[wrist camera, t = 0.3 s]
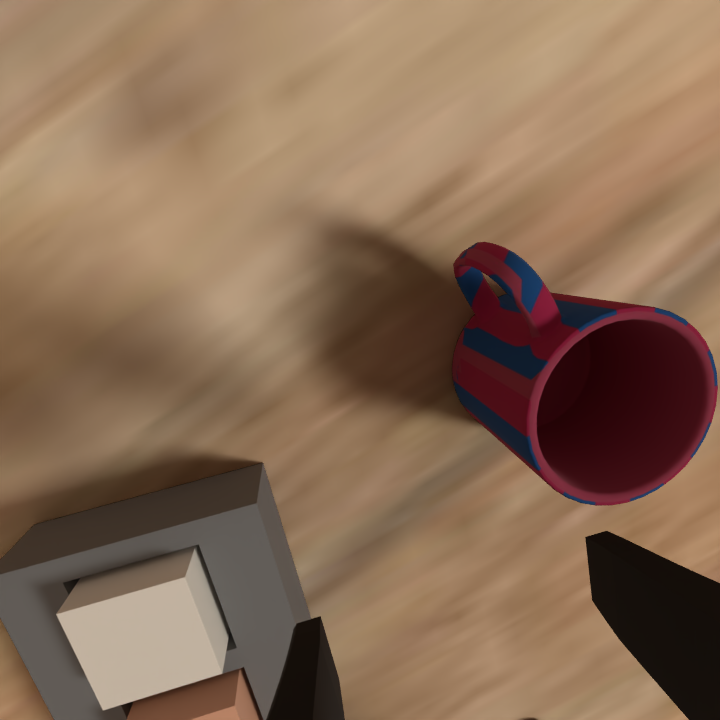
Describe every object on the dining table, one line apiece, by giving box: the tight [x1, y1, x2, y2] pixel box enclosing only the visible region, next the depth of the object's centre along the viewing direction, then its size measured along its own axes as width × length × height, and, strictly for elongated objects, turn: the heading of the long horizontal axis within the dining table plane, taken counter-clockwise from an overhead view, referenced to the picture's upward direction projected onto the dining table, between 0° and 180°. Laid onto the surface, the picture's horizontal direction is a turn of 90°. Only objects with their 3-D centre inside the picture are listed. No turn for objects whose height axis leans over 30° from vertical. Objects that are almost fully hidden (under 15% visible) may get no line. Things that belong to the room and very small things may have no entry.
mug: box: [452, 242, 718, 505], centre depth 17 cm, size 7×10×7 cm
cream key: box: [56, 544, 230, 710], centre depth 17 cm, size 4×4×2 cm
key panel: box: [0, 463, 311, 720], centre depth 20 cm, size 19×10×3 cm, turn 13°
